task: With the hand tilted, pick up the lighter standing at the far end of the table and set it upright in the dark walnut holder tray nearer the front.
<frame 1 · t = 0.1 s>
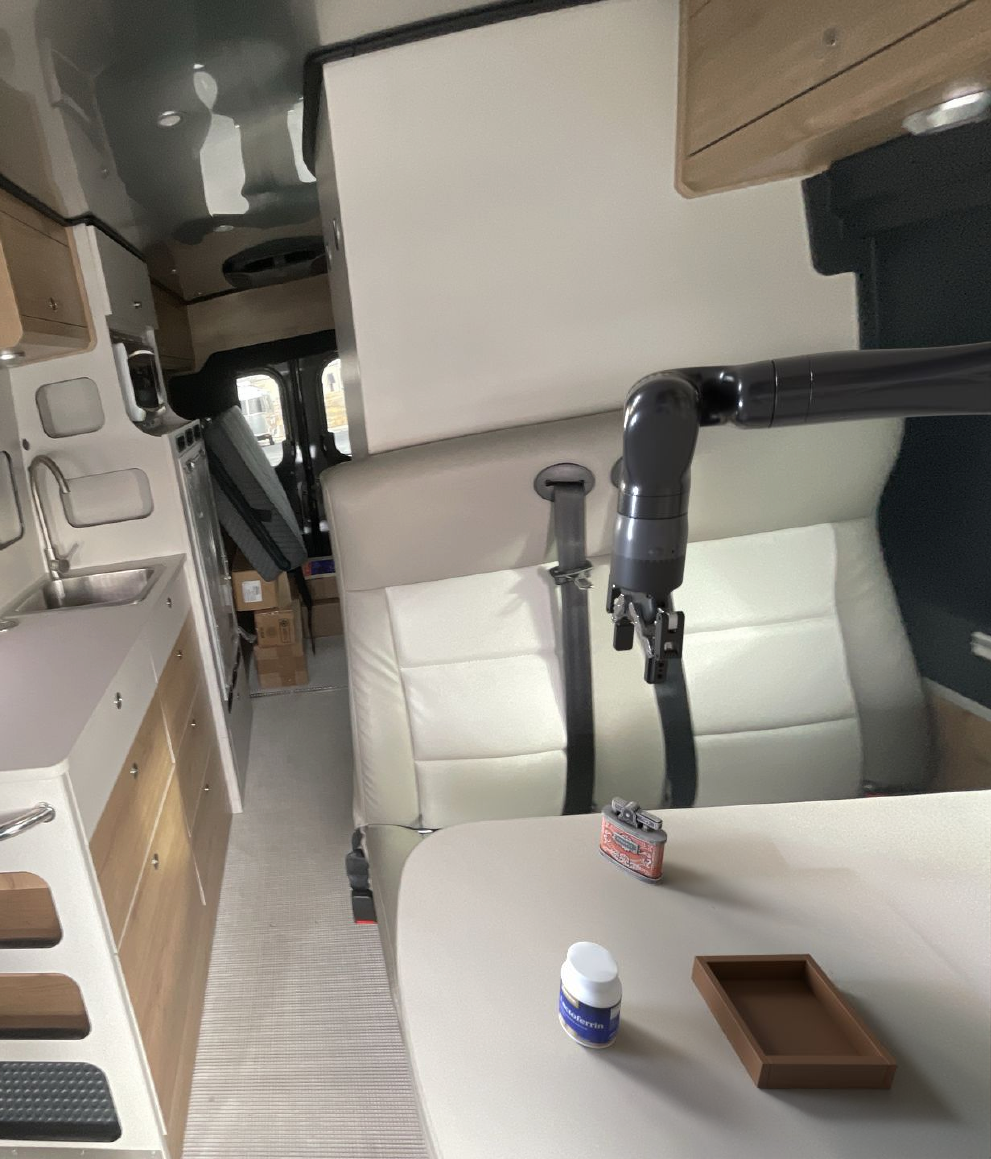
hand: (637, 665, 85), 29 cm above the table, tool pointing down, fingers open, 8 cm apart
pill bottle: (587, 1025, 73), on the table
lighter: (629, 865, 91), on the table
holder: (781, 1028, 70), on the table
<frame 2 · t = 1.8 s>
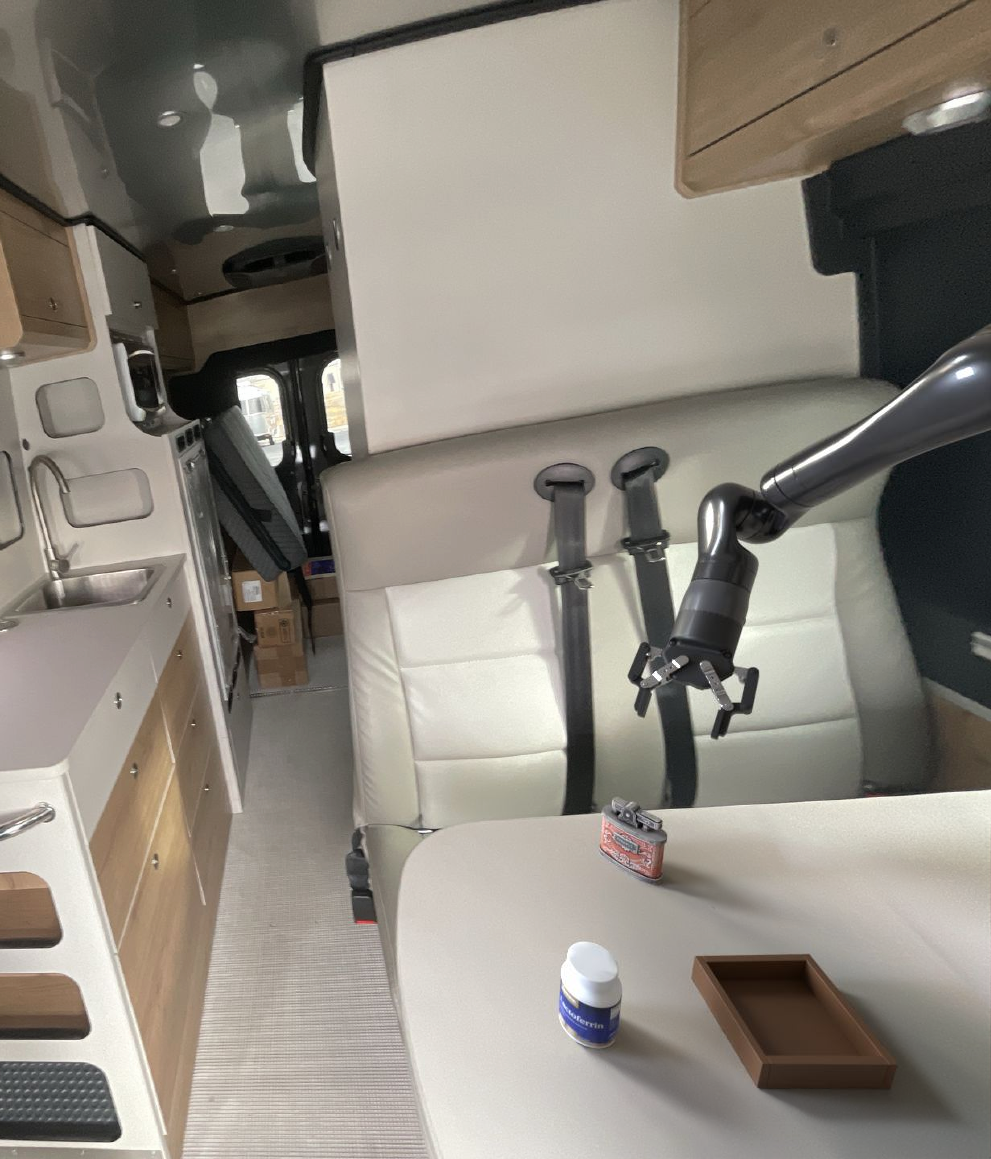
hand: (676, 726, 90), 17 cm above the table, tool tilted 45°, fingers open, 8 cm apart
nothing on the table moved.
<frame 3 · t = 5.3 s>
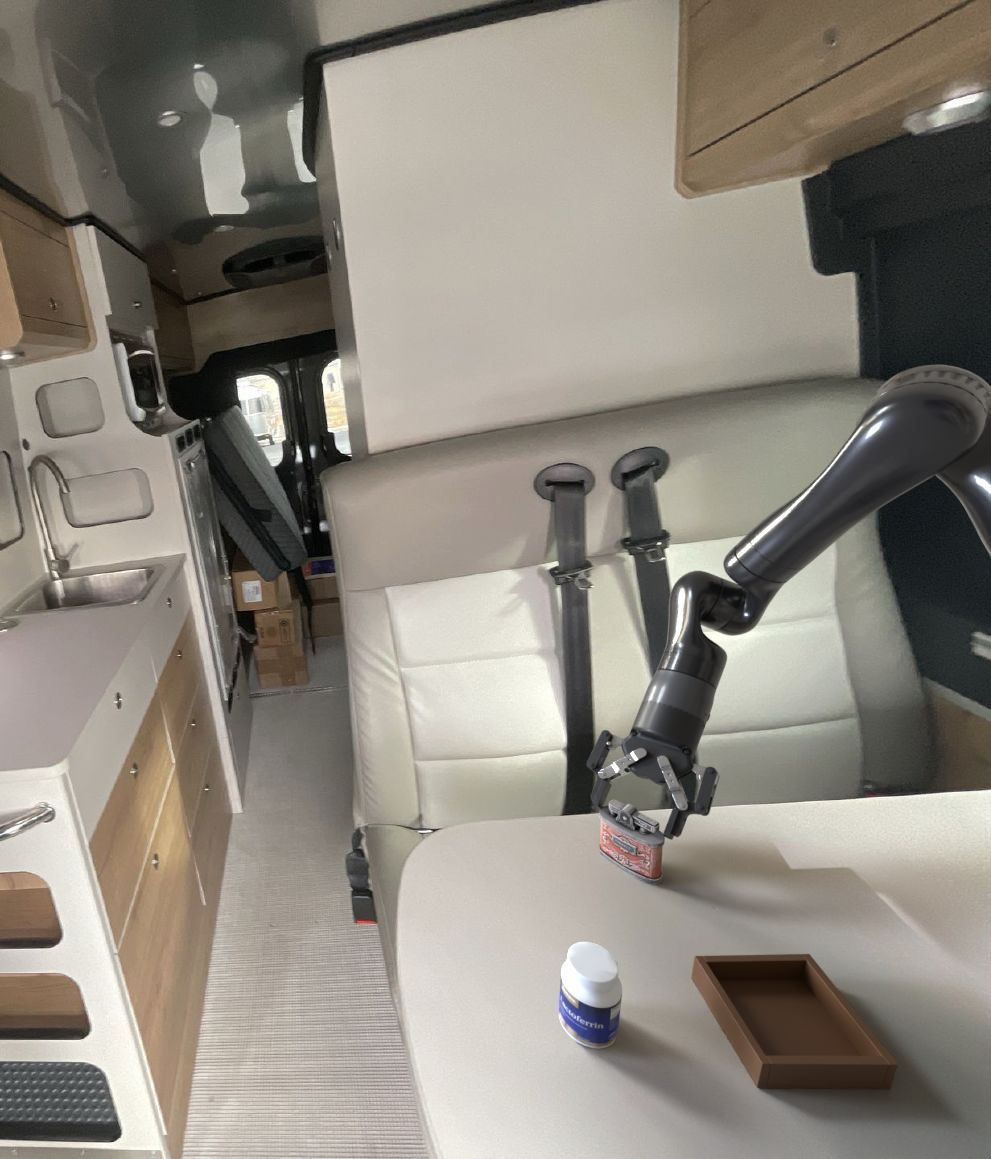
hand: (631, 822, 88), 8 cm above the table, tool tilted 45°, fingers closed on lighter, 8 cm apart
lighter: (629, 865, 91), on the table, touching gripper
everything else where it was.
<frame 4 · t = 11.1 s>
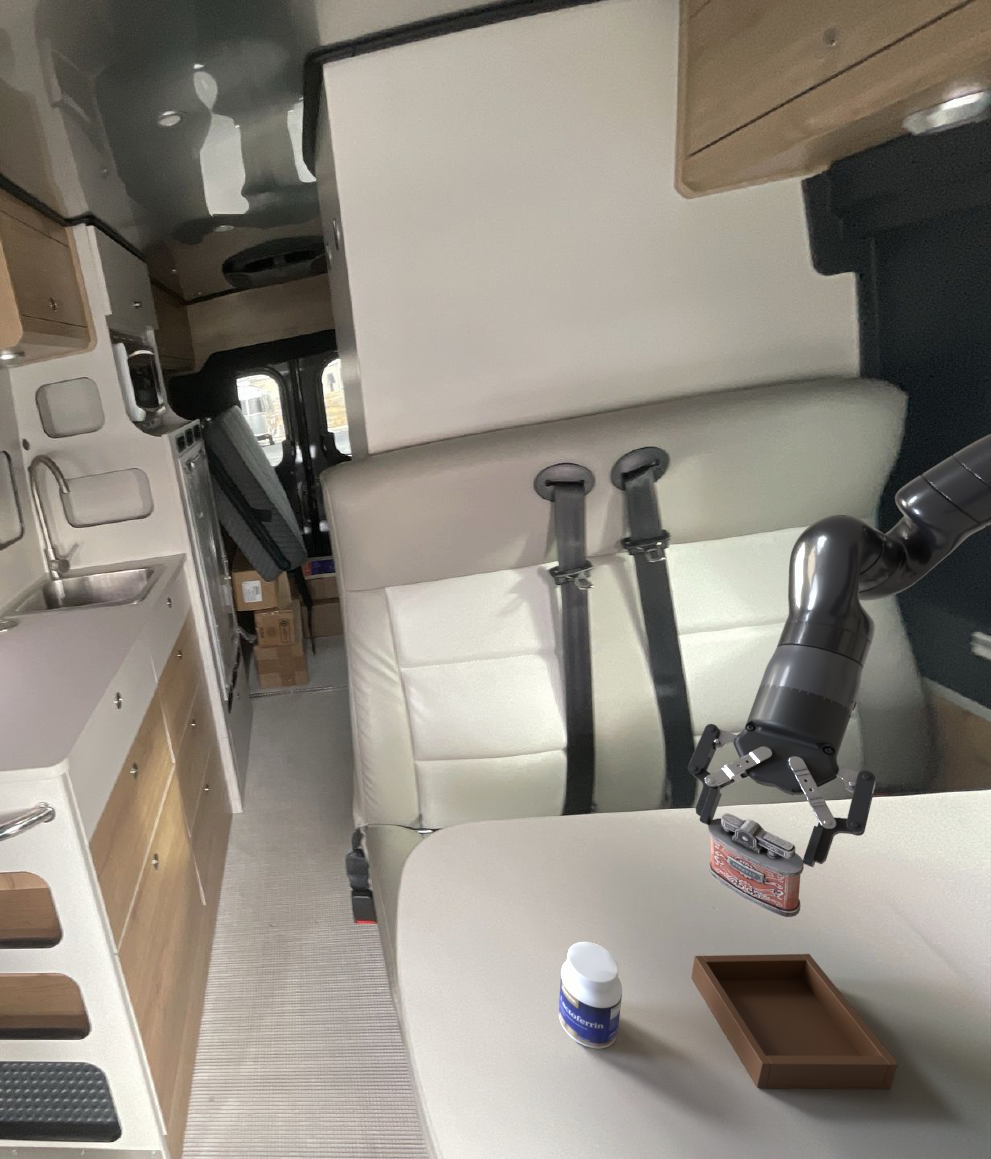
hand: (754, 843, 68), 20 cm above the table, tool tilted 45°, fingers closed on lighter, 8 cm apart
lighter: (752, 889, 71), point 13 cm above the table, touching gripper
everything else where it was.
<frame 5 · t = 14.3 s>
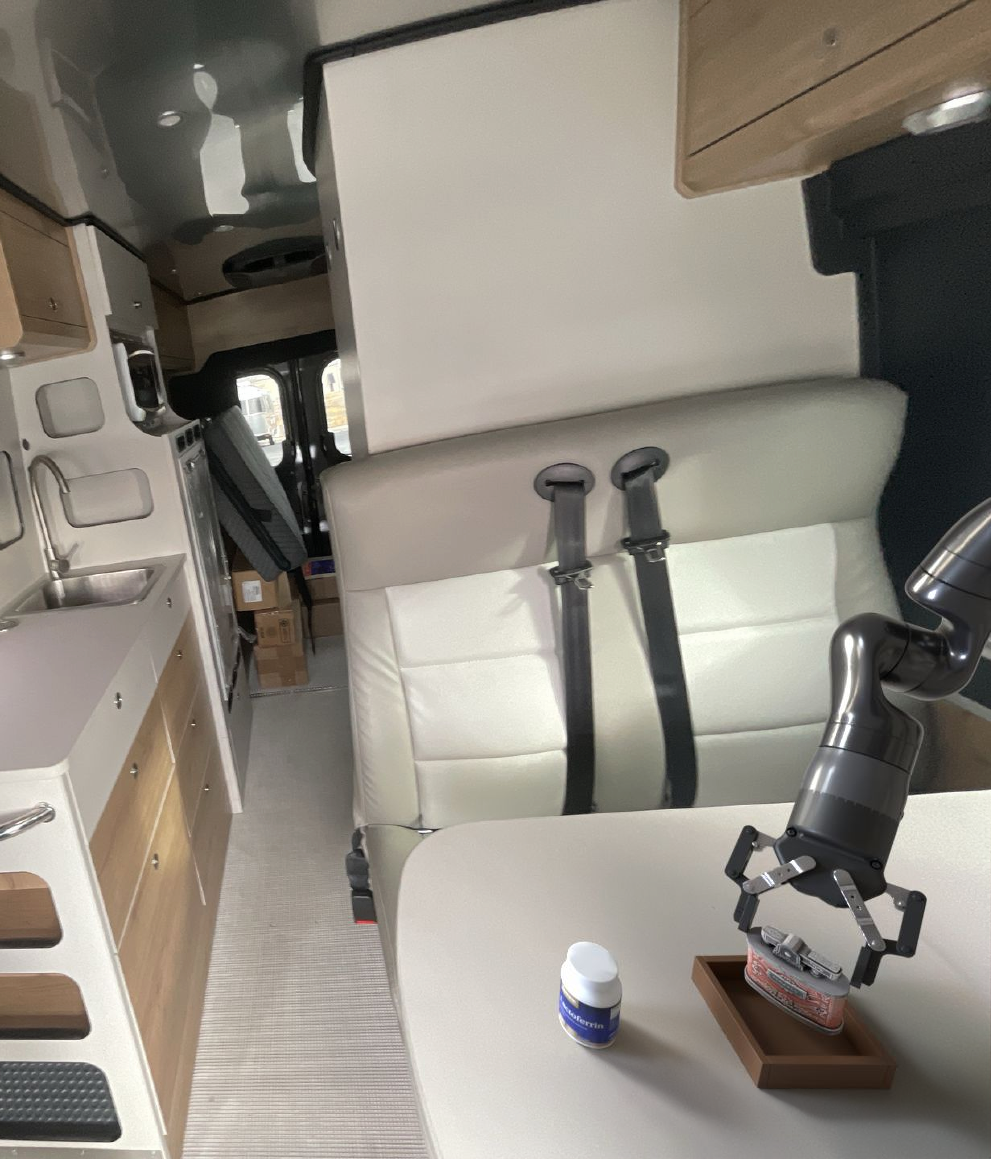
hand: (796, 958, 65), 12 cm above the table, tool tilted 45°, fingers closed on lighter, 8 cm apart
lighter: (791, 999, 68), point 4 cm above the table, touching gripper
everything else where it was.
when the fingers open (9 cm above the table, at t = 17.0 s): lighter stays where it is, resting on holder.
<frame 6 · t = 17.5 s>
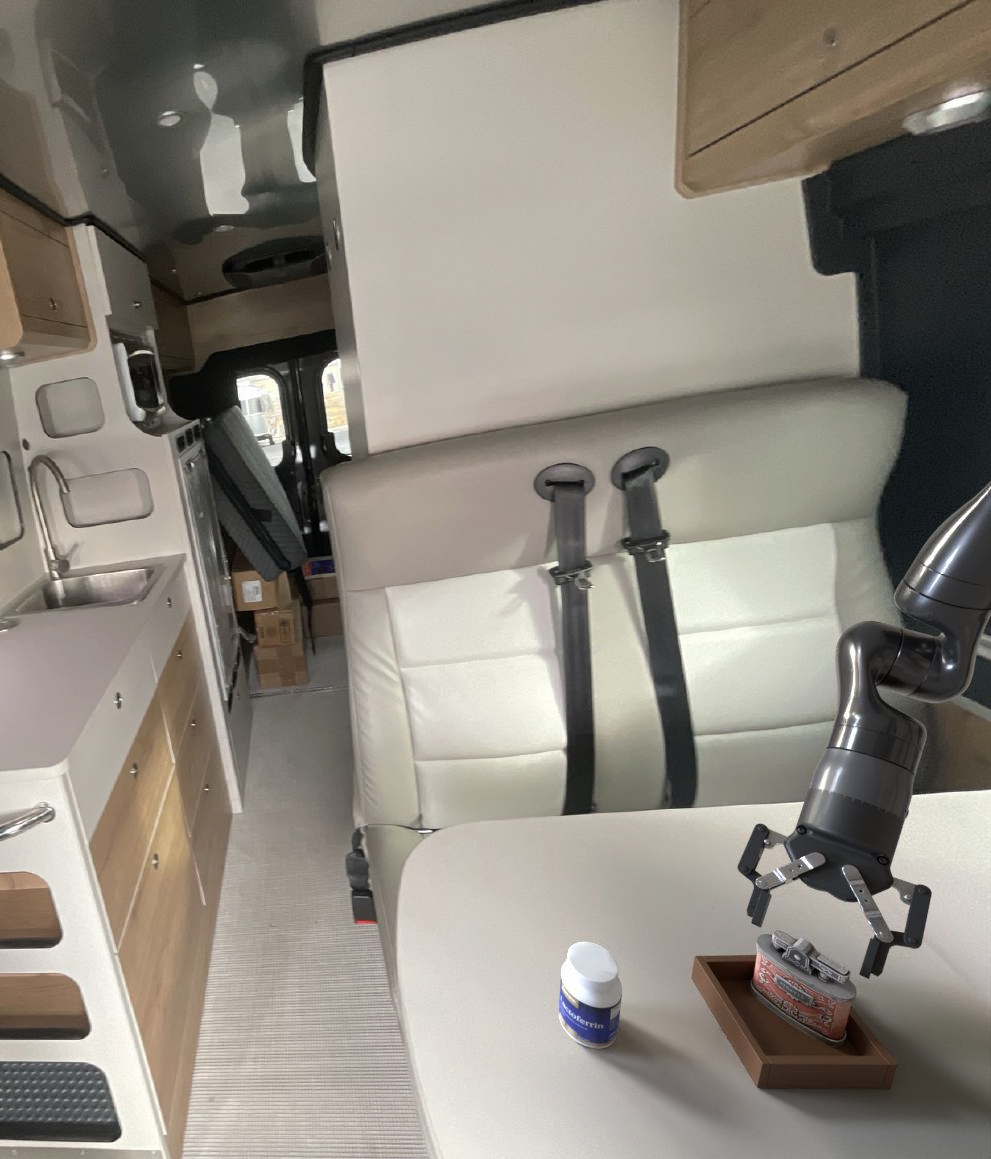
hand: (807, 950, 68), 9 cm above the table, tool tilted 45°, fingers open, 8 cm apart
lighter: (795, 1013, 70), point 1 cm above the table, touching holder
everything else where it was.
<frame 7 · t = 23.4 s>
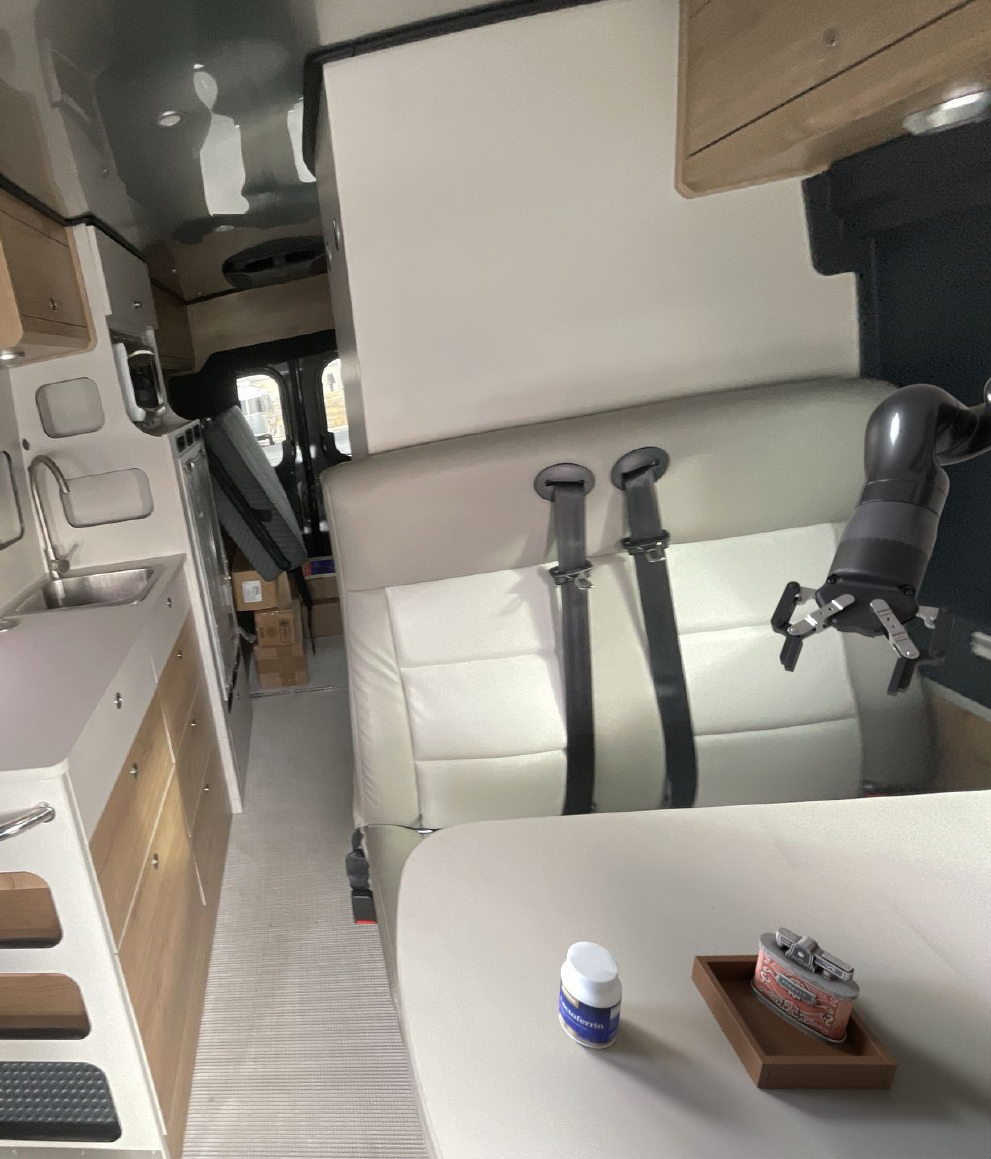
hand: (837, 681, 73), 31 cm above the table, tool tilted 45°, fingers open, 8 cm apart
nothing on the table moved.
at the end: lighter inside the target area in the holder (2.4 cm from its centre), point 0.4 cm above the holder's base; lighter tilted 0°; the gripper is holding nothing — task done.
